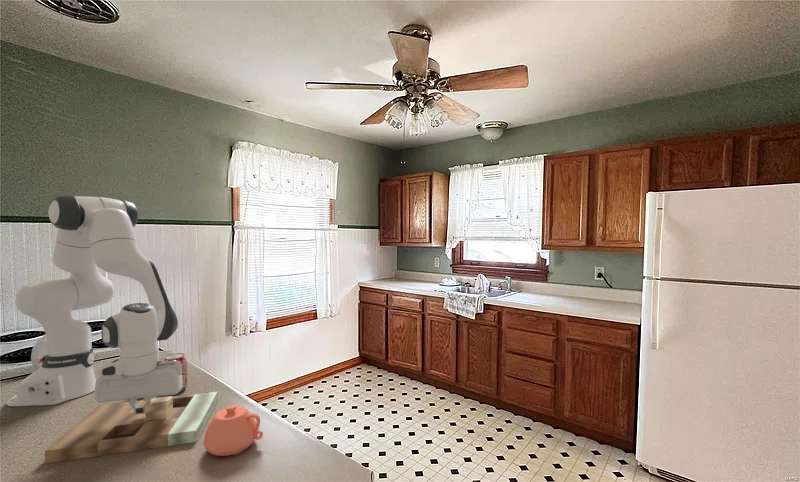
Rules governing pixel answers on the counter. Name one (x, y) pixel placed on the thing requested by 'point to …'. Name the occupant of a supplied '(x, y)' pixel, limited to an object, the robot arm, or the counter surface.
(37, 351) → the soap bottle
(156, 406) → the birch block
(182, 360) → the soda can
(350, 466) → the counter surface
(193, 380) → the counter surface
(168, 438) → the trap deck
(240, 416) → the sugar bowl
